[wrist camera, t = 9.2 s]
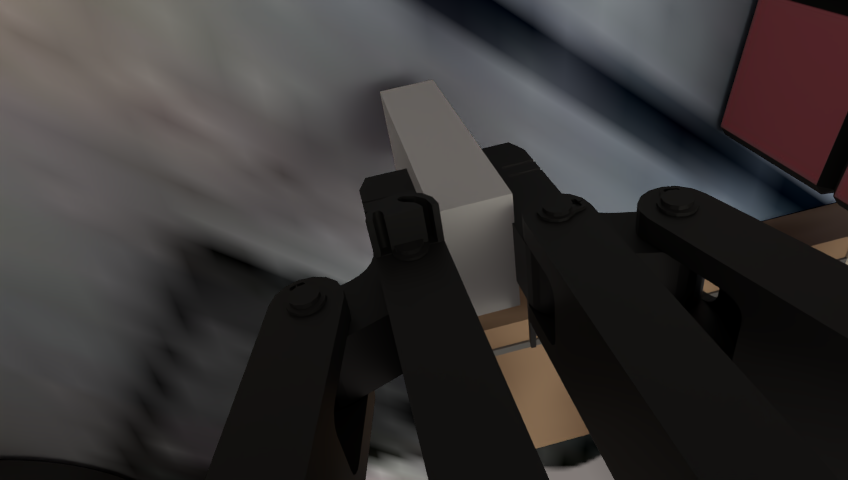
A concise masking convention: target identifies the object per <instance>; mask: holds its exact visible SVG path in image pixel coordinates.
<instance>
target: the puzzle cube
mask: <svg viewBox="0 0 848 480" xmlns="http://www.w3.org/2000/svg"><path fill="white" fill-rule="evenodd" d="M720 127H721V129H722V130H723V131H724V133H725V134H726V135H727V136H729V137H730V138H732V139H734V140H735V141H737V142H738V143H740V144H742V145H743V146H745V147H746V148H748V149H750V150H751V151H753V152H755V153H756V154H758V155H759V156H761V157H763V158H764V159H766V160H767V161H769V162H771V163H772V164H774V165H775V166H777V167H779V168H780V169H782V170H783V171H785V172H787V173H788V174H790V175H791V176H793V177H795V178H796V179H798V180H799V181H801V182H803V183H804V184H806V185H808V186H809V187H811V188H812V189H814V190H816V191H817V192H819V193H820V194H827V193H834V195H833V197H834V198H835V200H836V202H837V203H838V205H839V206H841V207H842V208H844V209H846V210H847V211H848V0H758V3H757V7H756V10H755V13H754V17H753V20H752V23H751V27H750V30H749V33H748V37H747V40H746V43H745V47H744V50H743V53H742V57H741V60H740V63H739V66H738V70H737V73H736V76H735V80H734V83H733V86H732V90H731V93H730V96H729V100H728V103H727V106H726V110H725V113H724V116H723V120H722V123H721V126H720Z"/></svg>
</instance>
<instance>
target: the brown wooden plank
mask: <svg viewBox="0 0 848 480" xmlns="http://www.w3.org/2000/svg"><path fill="white" fill-rule="evenodd" d="M763 223H765V224H767V225H769V226H771V227H773V228H775V229H777V230H779V231H781V232H783V233H785V234H787V235H789V236H791V237H793V238H795V239H797V240H799V241H801V242H803V243H805V244H807V245H809V246H811V247H813V248H815V249H817V250H819V251H821V252H823V253H825V254H827V255H829V256H831V257H833V258H835V259H837V260H839V261H841V262H843V263H845V264H847V265H848V211H847V210H846V209H844V208H842V207H841V206H839V205H838V203H834V204H830V205H826V206H822V207H818V208H814V209H810V210H806V211H802V212H798V213H794V214H790V215H786V216H782V217H778V218H774V219H770V220H767V221H763ZM703 291H705V292H706V293H708V294H709V295H711V296H713V297H717V296H718V292H719V288H718V287H717V286H715V285H714V284H712V283H711V282H709V281H707V280H706V279H705V281H704V287H703ZM519 293H520V305H518V306H515V307H511V308H507V309H503V310H499V311H496V312H492V313H488V314H484V315H481V316H478V318H479V320H480V323H481V325H482V327H483V329H484V332H485V334H486V336H487V339H488V341H489V343H490V345H491V348H492V350H493V352H494V355H495V357H496V359H497V361H498V364H499V366H500V368H501V371H502V373H503V375H504V377H505V380H506V382H507V384H508V387H509V389H510V391H511V393H512V396H513V398H514V400H515V403H516V405H517V407H518V409H519V412H520V414H521V416H522V419H523V421H524V423H525V425H526V428H527V430H528V432H529V435H530V437H531V439H532V441H533V444H534V446H535V448H540V447H543V446H547V445H550V444H554V443H558V442H561V441H565V440H568V439H572V438H576V437H579V436H583V435H587V434H590V433H589V431H588V429H587V428H586V426H585V424H584V422H583V420H582V418H581V416H580V414H579V413H578V411H577V409H576V407H575V405H574V403H573V401H572V400H571V398H570V396H569V394H568V392H567V390H566V388H565V387H564V385H563V383H562V381H561V379H560V377H559V375H558V373H557V372H556V370H555V368H554V366H553V364H552V362H551V360H550V359H549V357H548V355H547V353H546V351H545V349H544V347H543V346H542V344H541V342H540V340H539V338H538V336H536V347H535V348H531V345H530V340H529V325H528V308H527V299H526V297H525V295H524V293H523V291H522V290H521V288H520V286H519Z"/></svg>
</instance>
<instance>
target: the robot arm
mask: <svg viewBox="0 0 848 480" xmlns="http://www.w3.org/2000/svg"><path fill="white" fill-rule="evenodd" d="M380 95H381V100H382V105H383V110H384V115H385V119H386V124H387V129H388V134H389V139H390V144H391V149H392V153H393V158H394V163H395V168H396V171H393V172H389V173H385V174H381V175H376V176H372V177H368V178H365V180H364V182H363V184H362V186H361V188H360V190H359V191H360V195H361V199H362V203H363V208H364V212H365V216H366V225H367V229H368V233H369V237H370V241H371V244H372V248H373V252H374V256H373V259H372V262H371V264H370V265H369V266H368V268H367V269H366V270H365V271H364V272H363V273H362V274H360V275H359V276H358V277H356V278H354V279H353V280H351V281H349V282H347V283H345V284H343V285H341V286H340V284H339V283H338V282H337V281H335V280H332V279H330V278H327V277H311V278H306V279H302V280H298V281H296V282H294V283H292V284H290V285H288V286H286V287H285V288H284V289H282V290H281V291H280V292H279V293H278V294H276V295H275V297H274V298H273V300H272V301H271V303H270V305H269V307H268V310H267V312H266V315H265V318H264V320H263V323H262V326H261V329H260V331H259V334H258V337H257V339H256V342H255V345H254V348H253V350H252V353H251V356H250V358H249V361H248V364H247V367H246V369H245V372H244V375H243V377H242V380H241V383H240V386H239V388H238V391H237V394H236V396H235V399H234V402H233V405H232V407H231V410H230V413H229V416H228V418H227V421H226V424H225V426H224V429H223V432H222V435H221V437H220V440H219V443H218V445H217V448H216V451H215V454H214V456H213V459H212V462H211V464H210V467H209V470H208V473H207V475H206V478H205V480H365V479H366V471H367V462H368V454H369V445H370V437H371V429H372V420H373V412H374V404H375V392H374V390H376V389H377V388H379V387H381V386H383V385H384V384H386V383H388V382H389V381H391V380H393V379H395V378H396V377H398V376H400V375H401V374H403V376H404V380H405V384H406V389H407V393H408V397H409V401H410V405H411V409H412V414H413V418H414V422H415V426H416V430H417V434H418V438H419V443H420V447H421V451H422V455H423V459H424V463H425V467H426V472H427V476H428V480H549V478H548V476H547V473H546V471H545V469H544V467H543V464H542V462H541V460H540V457H539V455H538V453H537V451H536V448H535V446H534V444H533V441H532V439H531V437H530V435H529V432H528V430H527V428H526V425H525V423H524V421H523V419H522V416H521V414H520V412H519V409H518V407H517V405H516V403H515V400H514V398H513V396H512V393H511V391H510V389H509V387H508V384H507V382H506V380H505V377H504V375H503V373H502V371H501V368H500V366H499V364H498V361H497V359H496V357H495V355H494V352H493V350H492V348H491V345H490V343H489V341H488V339H487V336H486V334H485V332H484V329H483V327H482V325H481V323H480V320H479V318H478V316H481V315H484V314H488V313H492V312H496V311H499V310H503V309H507V308H511V307H515V306H518V305H520V293H519V286H520V288H521V290H522V291H523V293H524V295H525V297H526V299H527V308H528V325H529V340H530V345H531V348H535V347H536V336H538V338H539V340H540V342H541V344H542V346H543V347H544V349H545V351H546V353H547V355H548V357H549V359H550V360H551V362H552V364H553V366H554V368H555V370H556V372H557V373H558V375H559V377H560V379H561V381H562V383H563V385H564V387H565V388H566V390H567V392H568V394H569V396H570V398H571V400H572V401H573V403H574V405H575V407H576V409H577V411H578V413H579V414H580V416H581V418H582V420H583V422H584V424H585V426H586V428H587V429H588V431H589V433H590V435H591V437H592V439H593V441H594V442H595V444H596V446H597V448H598V450H599V452H600V454H601V455H602V457H603V459H604V461H605V463H606V465H607V467H608V468H609V470H610V472H611V474H612V476H613V478H614V479H615V480H848V265H847V264H845V263H843V262H841V261H839V260H837V259H835V258H833V257H831V256H829V255H827V254H825V253H823V252H821V251H819V250H817V249H815V248H813V247H811V246H809V245H807V244H805V243H803V242H801V241H799V240H797V239H795V238H793V237H791V236H789V235H787V234H785V233H783V232H781V231H779V230H777V229H775V228H773V227H771V226H769V225H767V224H765V223H763V222H761V221H759V220H757V219H755V218H753V217H752V216H750V215H748V214H746V213H744V212H742V211H740V210H738V209H736V208H734V207H732V206H730V205H728V204H726V203H724V202H722V201H720V200H718V199H716V198H714V197H712V196H710V195H708V194H706V193H703V192H701V191H698V190H695V189H692V188H686V187H680V186H671V187H669V186H667V187H660V188H657V189H653V190H650V191H648V192H647V193H645V194H643V195H642V196H641V197H640V199H639V201H638V204H637V212H624V213H598V212H597V210H596V209H595V208H594V207H593V206H592V205H591V204H590V203H589V202H587V201H586V200H584V199H583V198H581V197H578V196H575V195H571V194H562V193H561V192H560V191H559V190H558V189H557V187H556V186H555V185H554V184H553V183H552V182H551V180H550V179H549V178H548V177H547V176H546V175H545V173H544V172H543V171H542V170H540V167H539V166H538V165H537V164H536V163H535V162H533V159H532V158H531V157H530V156H529V155H528V153H527V152H526V151H525V150H524V149H522V148H520V147H518V146H515V145H513V144H511V143H504V144H500V145H496V146H491V147H487V148H483V149H481V148H480V146H479V145H478V144H477V142H476V141H475V139H474V138H473V136H472V135H471V134H470V132H469V131H468V129H467V128H466V126H465V125H464V124H463V122H462V121H461V119H460V118H459V116H458V115H457V114H456V112H455V111H454V109H453V108H452V106H451V105H450V104H449V102H448V101H447V99H446V98H445V96H444V95H443V94H442V92H441V91H440V89H439V88H438V86H437V85H436V84H435V82H434V81H433V80H429V81H424V82H420V83H415V84H411V85H406V86H402V87H398V88H393V89H389V90H384V91H380ZM705 279H706V280H707V281H709V282H711V283H712V284H714V285H715V286H717V287H718V288H719V292H718V296H717V297H713V296H711V295H709V294H708V293H706V292H705V291H703V287H704V281H705ZM0 480H126V479H123V478H120V477H118V476H114V475H111V474H107V473H104V472H100V471H96V470H92V469H87V468H82V467H77V466H72V465H65V464H58V463H49V462H39V461H22V460H0Z"/></svg>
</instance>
